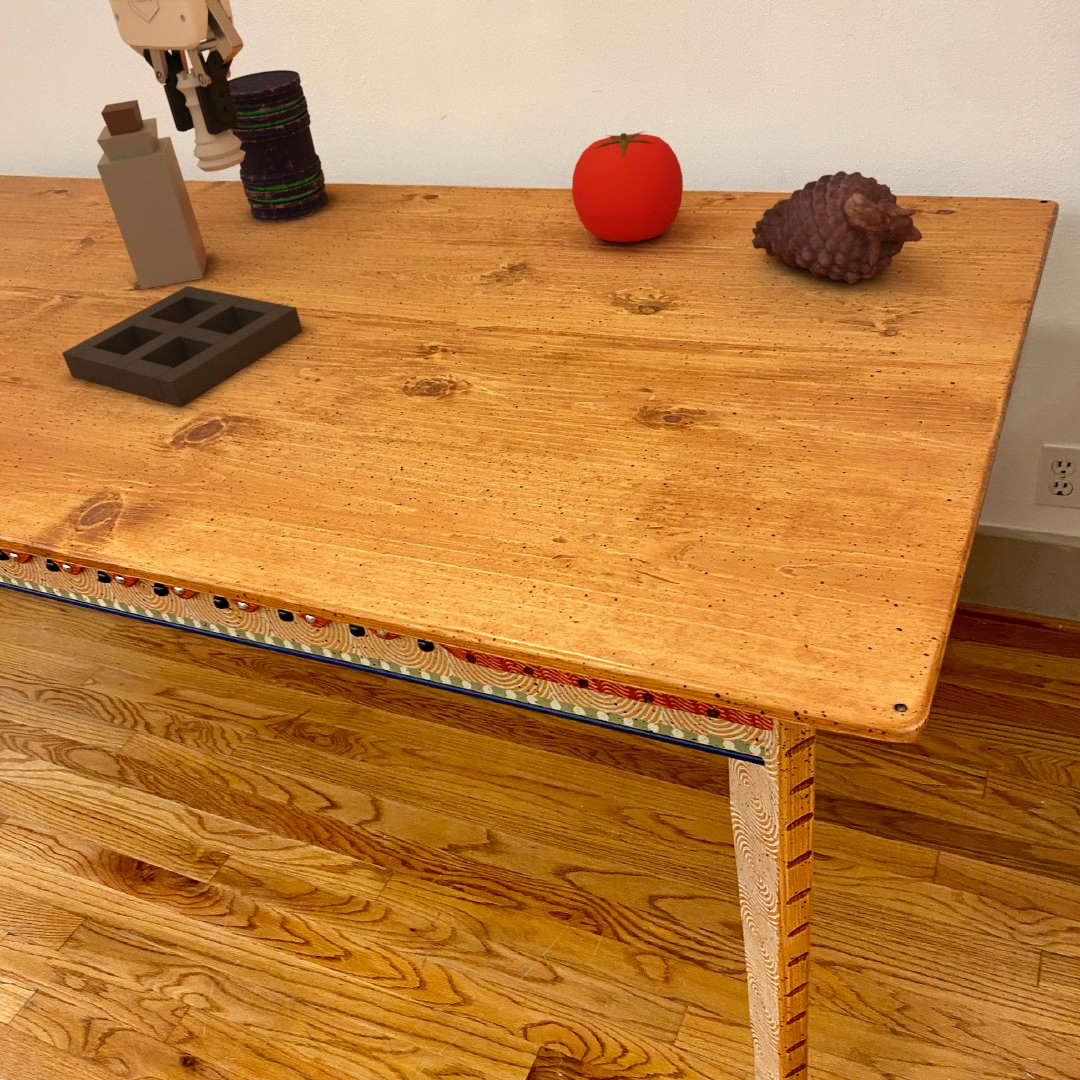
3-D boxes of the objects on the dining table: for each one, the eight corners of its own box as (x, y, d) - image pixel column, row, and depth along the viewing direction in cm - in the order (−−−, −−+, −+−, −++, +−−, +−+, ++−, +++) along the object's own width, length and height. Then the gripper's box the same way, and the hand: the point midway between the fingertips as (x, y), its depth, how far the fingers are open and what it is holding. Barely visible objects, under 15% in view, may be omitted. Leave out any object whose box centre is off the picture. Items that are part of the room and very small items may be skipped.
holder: (71, 376, 103) (61, 352, 101) (194, 308, 113) (187, 285, 111) (180, 407, 95) (171, 382, 94) (302, 331, 105) (296, 307, 103)
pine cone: (720, 279, 103) (731, 172, 102) (783, 296, 109) (794, 195, 109) (886, 268, 90) (900, 144, 89) (947, 287, 96) (961, 172, 95)
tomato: (684, 211, 118) (680, 111, 112) (685, 255, 109) (680, 148, 102) (581, 219, 120) (571, 121, 114) (573, 263, 110) (562, 159, 104)
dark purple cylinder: (319, 187, 140) (290, 65, 131) (339, 208, 133) (309, 80, 124) (243, 206, 138) (208, 82, 129) (259, 228, 130) (223, 99, 121)
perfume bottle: (207, 256, 125) (156, 92, 114) (202, 278, 119) (148, 109, 109) (148, 266, 124) (91, 103, 114) (141, 289, 119) (80, 120, 108)
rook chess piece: (190, 170, 98) (156, 77, 93) (232, 153, 100) (201, 62, 96) (213, 175, 95) (179, 79, 90) (256, 158, 97) (225, 64, 93)
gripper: (36, -99, 87) (115, 135, 98) (171, -109, 78) (241, 149, 89) (111, -115, 92) (179, 111, 102) (246, -125, 83) (304, 121, 94)
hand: (207, 126), depth 96 cm, fingers closed on rook chess piece, 3 cm apart
